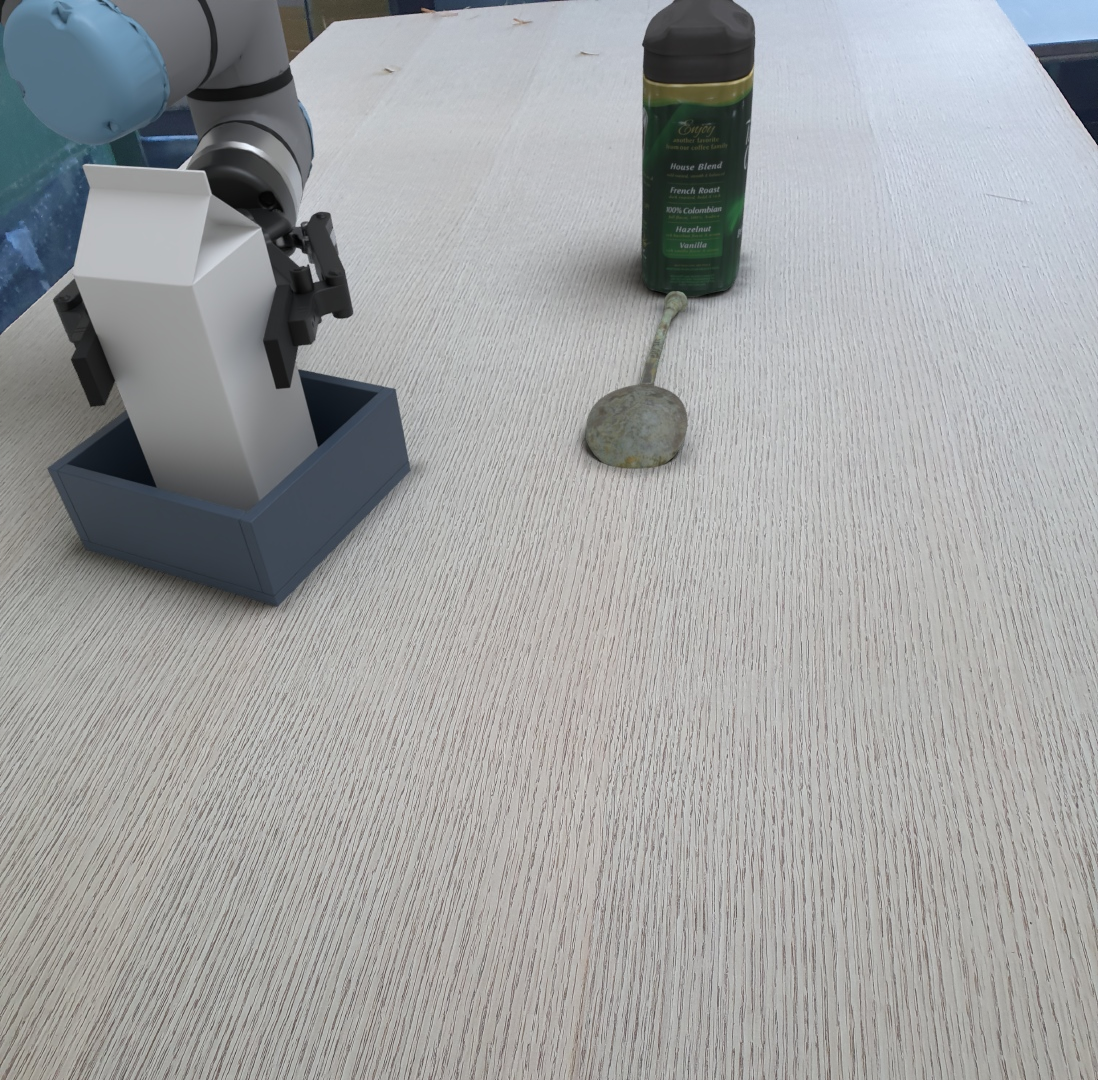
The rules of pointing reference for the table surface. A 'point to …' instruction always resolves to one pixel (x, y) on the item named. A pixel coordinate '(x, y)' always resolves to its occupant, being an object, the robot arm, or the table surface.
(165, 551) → the bin
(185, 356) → the milk carton
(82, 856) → the table surface
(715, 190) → the coffee jar
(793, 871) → the table surface
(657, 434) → the soupspoon
